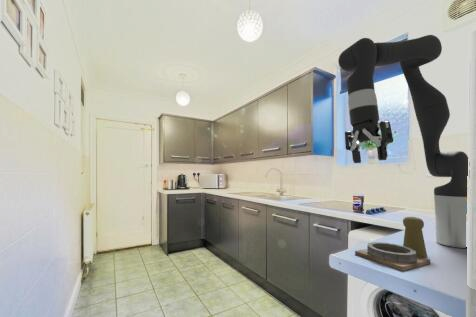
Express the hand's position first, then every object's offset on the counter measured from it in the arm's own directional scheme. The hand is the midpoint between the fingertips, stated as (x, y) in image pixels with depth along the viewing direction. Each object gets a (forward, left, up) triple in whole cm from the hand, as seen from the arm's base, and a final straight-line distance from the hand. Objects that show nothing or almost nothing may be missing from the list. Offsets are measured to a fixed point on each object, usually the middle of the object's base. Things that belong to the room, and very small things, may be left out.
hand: (369, 161), depth 66 cm
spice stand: (-5, +2, -28) cm, 28 cm away
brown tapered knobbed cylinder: (-17, +2, -28) cm, 33 cm away
